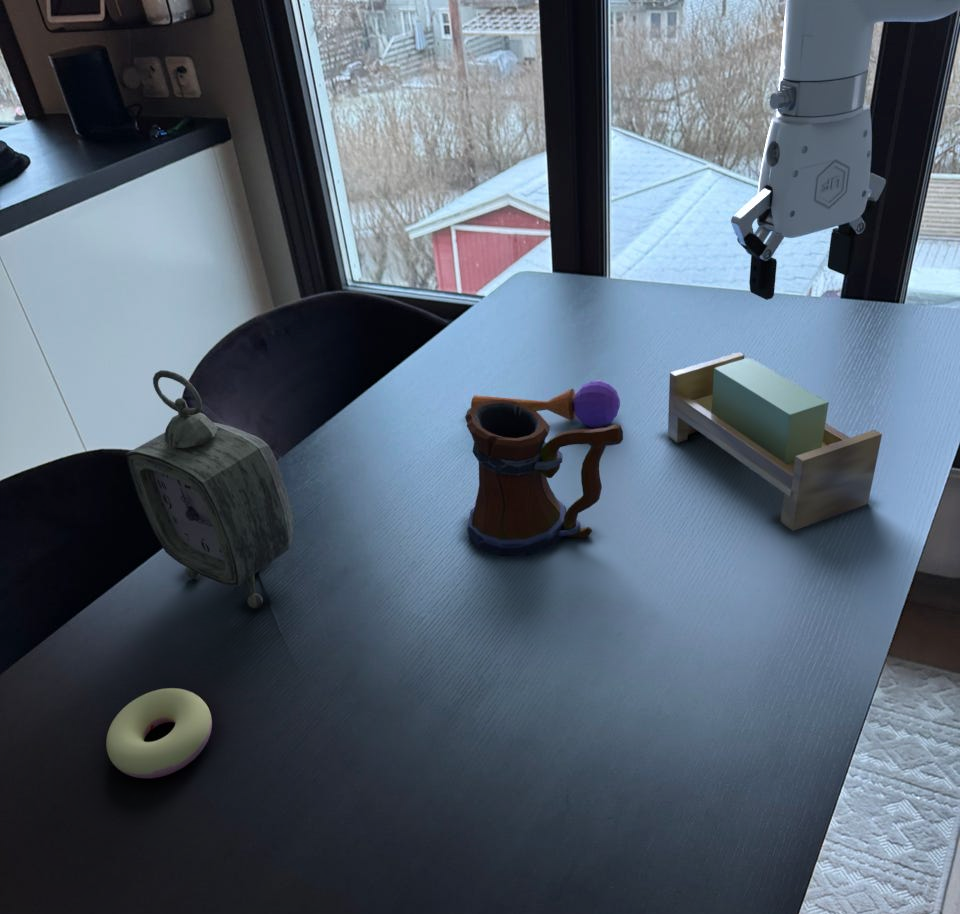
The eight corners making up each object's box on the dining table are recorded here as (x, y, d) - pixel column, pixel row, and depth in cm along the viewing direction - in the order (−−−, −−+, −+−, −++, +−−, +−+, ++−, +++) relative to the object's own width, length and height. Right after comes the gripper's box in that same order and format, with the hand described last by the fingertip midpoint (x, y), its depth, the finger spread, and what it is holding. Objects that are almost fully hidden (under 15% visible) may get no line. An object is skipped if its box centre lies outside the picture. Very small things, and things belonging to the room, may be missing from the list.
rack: (733, 417, 120) (739, 351, 114) (867, 506, 101) (882, 433, 96) (667, 438, 117) (669, 372, 111) (792, 533, 99) (802, 460, 93)
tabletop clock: (172, 581, 104) (89, 375, 88) (232, 541, 110) (163, 339, 93) (256, 622, 97) (183, 406, 81) (316, 577, 102) (258, 365, 86)
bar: (745, 403, 112) (750, 356, 108) (821, 451, 102) (829, 402, 98) (710, 414, 111) (713, 367, 107) (783, 464, 100) (790, 414, 97)
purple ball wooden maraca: (479, 380, 127) (622, 374, 120) (484, 422, 130) (624, 419, 123) (465, 392, 122) (613, 386, 115) (470, 435, 125) (615, 432, 118)
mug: (634, 516, 105) (635, 394, 95) (608, 575, 97) (607, 449, 87) (488, 498, 111) (475, 383, 101) (452, 553, 103) (435, 433, 93)
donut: (223, 719, 89) (125, 721, 89) (218, 679, 87) (117, 681, 86) (205, 785, 81) (96, 788, 80) (198, 744, 78) (86, 746, 78)
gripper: (766, 122, 79) (752, 316, 90) (927, 81, 83) (894, 272, 94) (716, 109, 84) (708, 294, 96) (869, 72, 88) (845, 253, 99)
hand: (800, 283), depth 95 cm, fingers open, 9 cm apart
